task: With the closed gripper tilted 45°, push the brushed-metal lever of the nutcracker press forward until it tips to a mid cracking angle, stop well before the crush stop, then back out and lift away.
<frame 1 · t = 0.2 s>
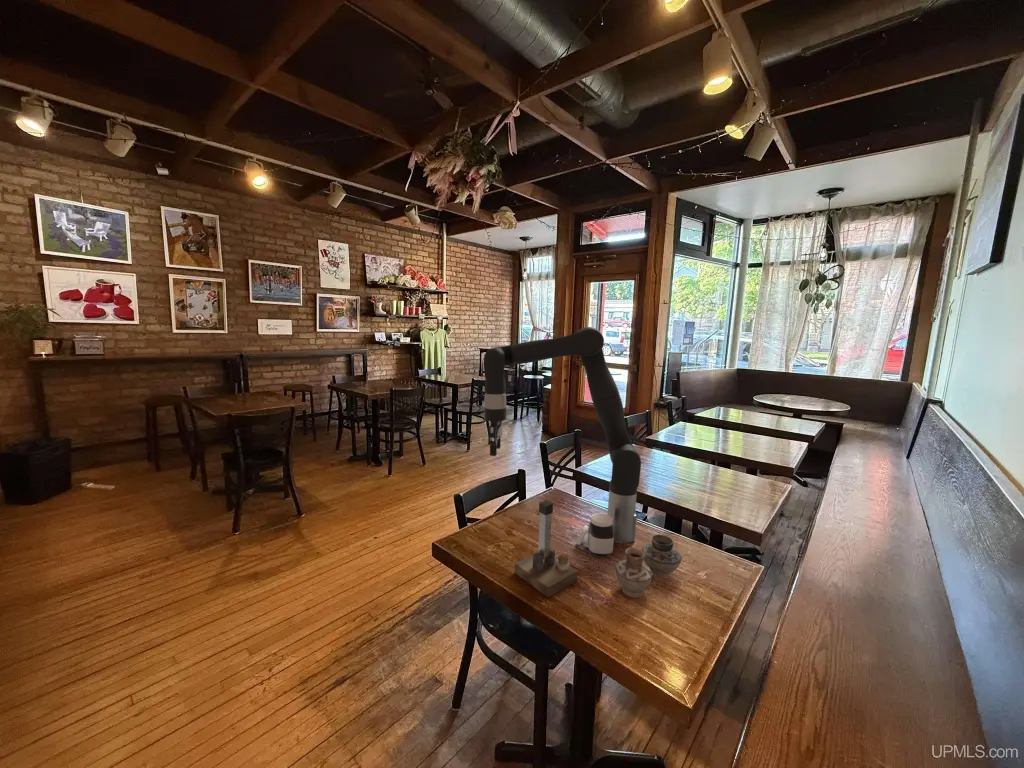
hand: (495, 451, 142), 29 cm above the table, tool pointing down, fingers open, 8 cm apart
spread jar: (593, 549, 136), on the table
pottery: (647, 581, 120), on the table
press base: (543, 574, 121), on the table
lever: (544, 531, 119), point 14 cm above the table, hinge at 0.0°
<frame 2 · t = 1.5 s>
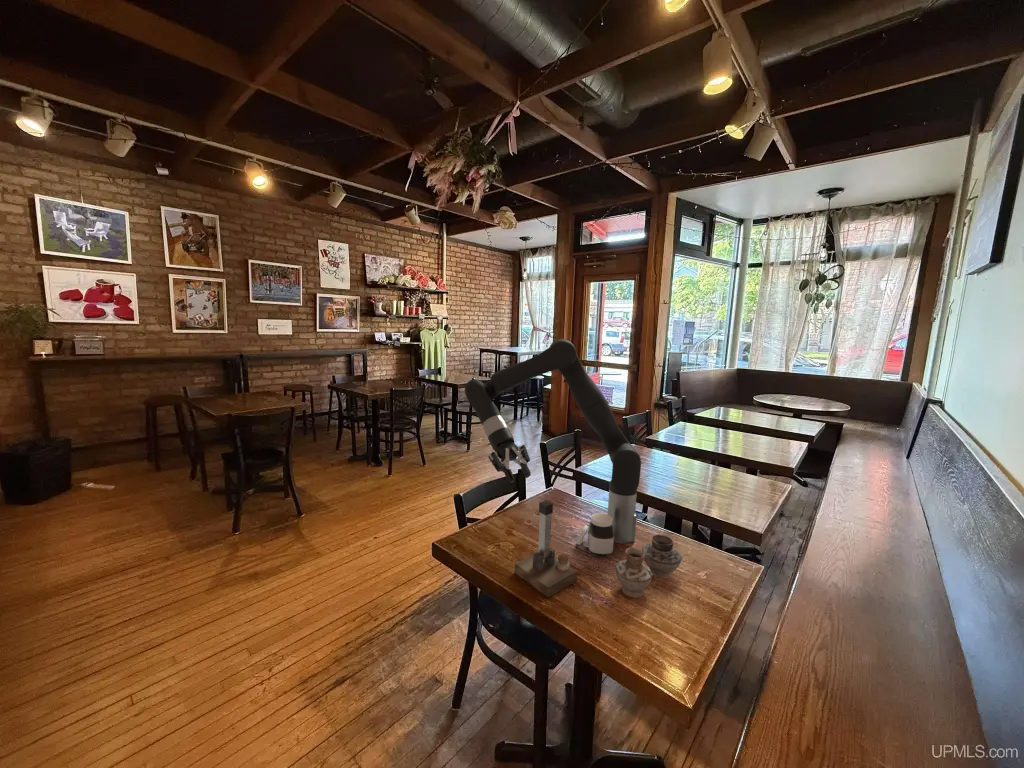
hand: (520, 478, 125), 26 cm above the table, tool tilted 45°, fingers open, 5 cm apart
nothing on the table moved.
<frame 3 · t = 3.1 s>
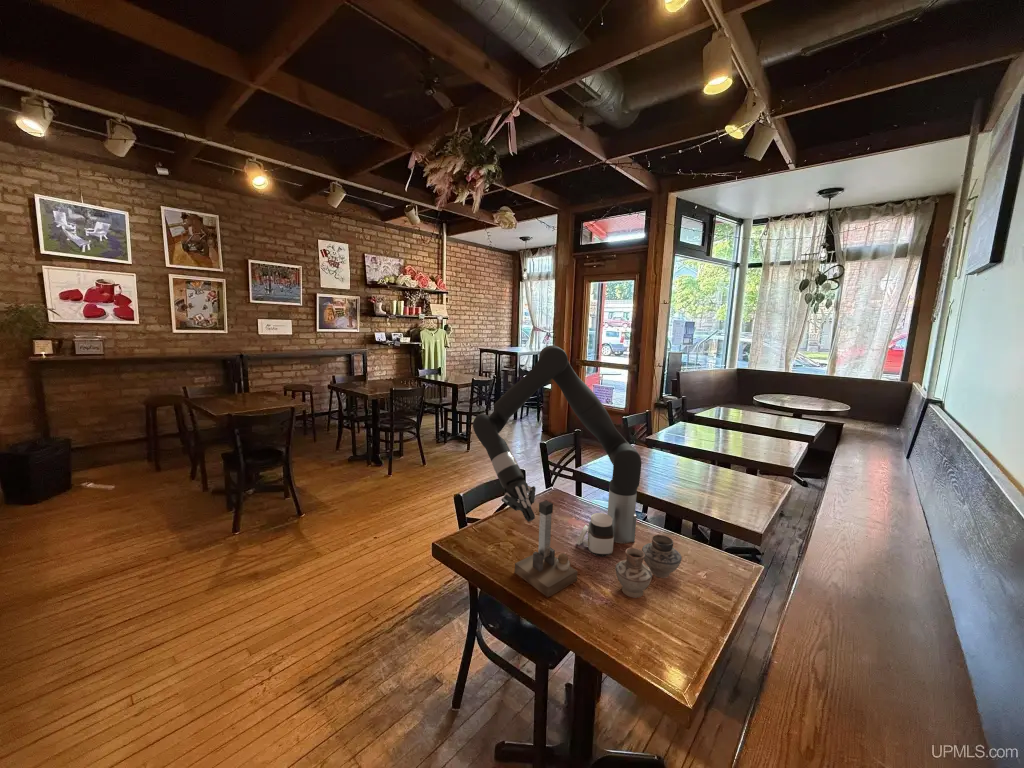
hand: (531, 520, 123), 15 cm above the table, tool tilted 45°, fingers closed
nothing on the table moved.
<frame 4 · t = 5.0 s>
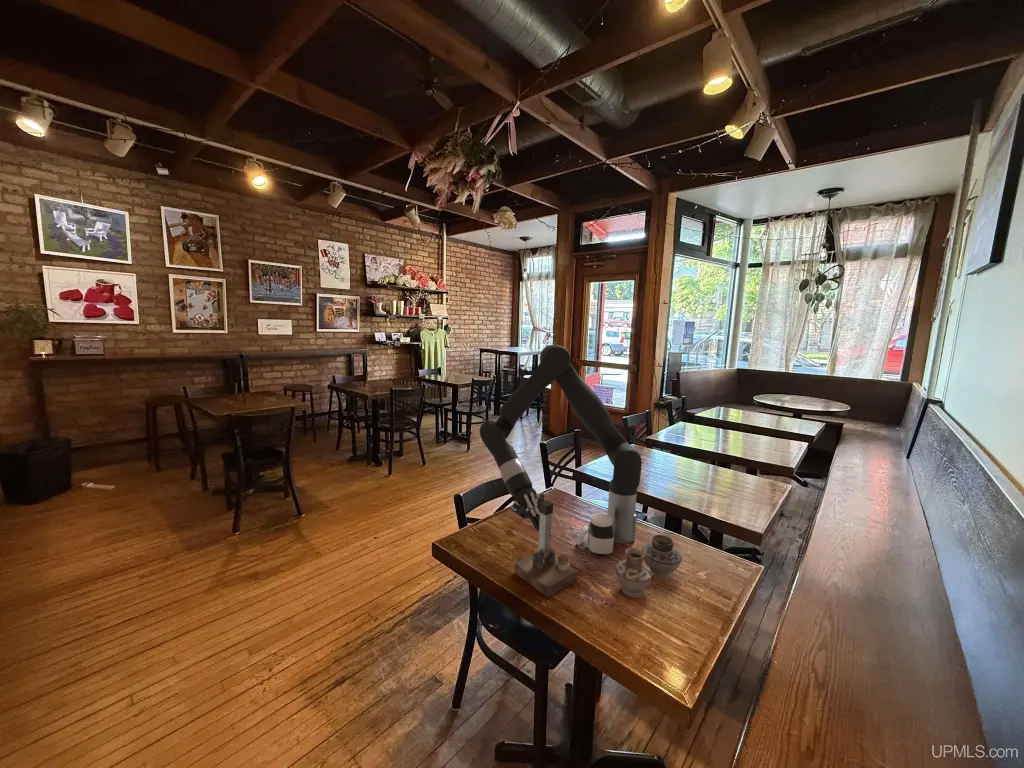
hand: (540, 529, 120), 14 cm above the table, tool tilted 45°, fingers closed
lever: (545, 531, 119), point 14 cm above the table, hinge at 0.2°, touching gripper
everything else where it was.
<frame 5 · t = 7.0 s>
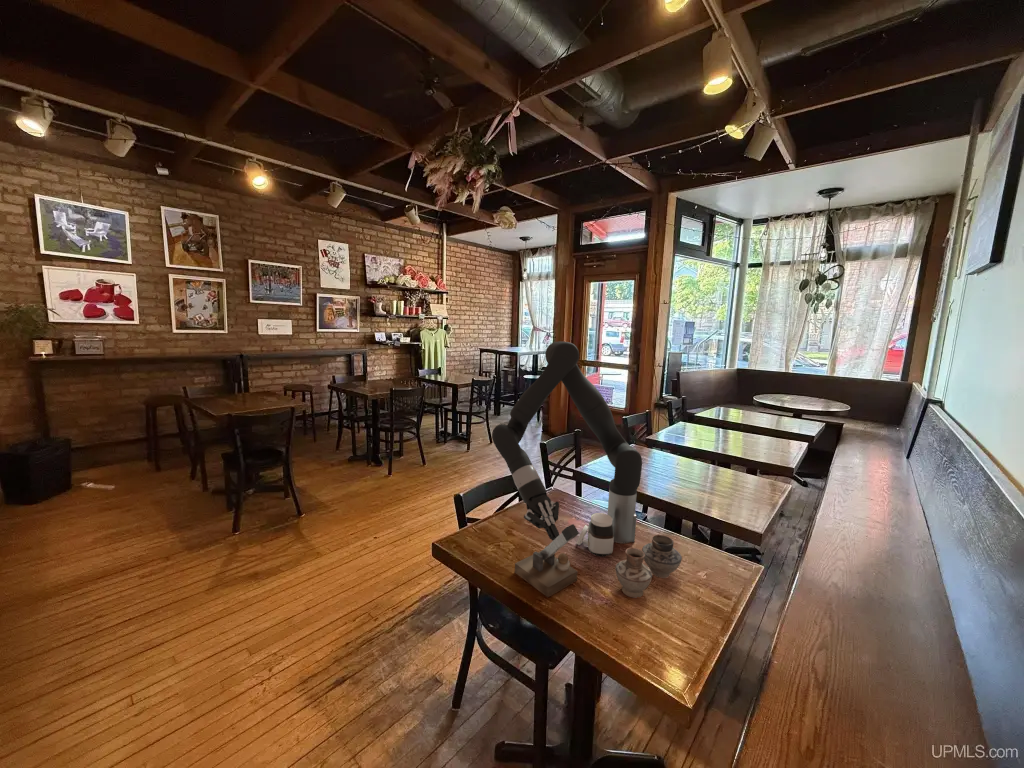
hand: (555, 538, 115), 14 cm above the table, tool tilted 45°, fingers closed
lever: (557, 544, 115), point 12 cm above the table, hinge at 39.2°, touching gripper
everything else where it was.
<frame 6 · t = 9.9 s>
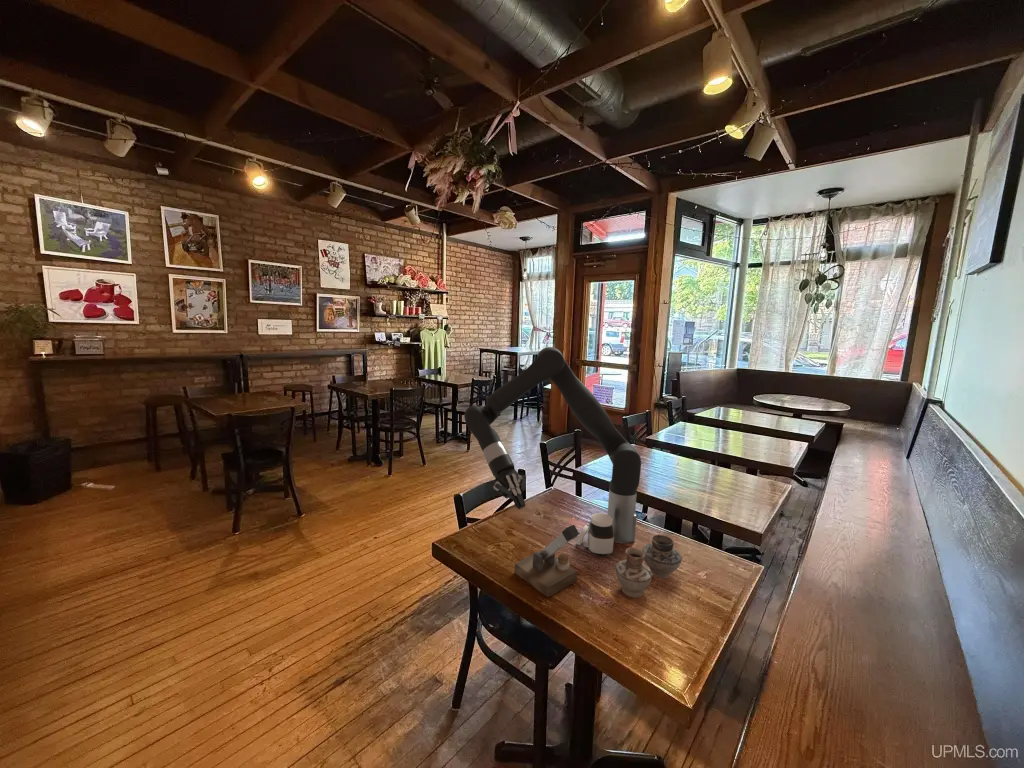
hand: (522, 507, 126), 17 cm above the table, tool tilted 45°, fingers closed
lever: (557, 544, 115), point 12 cm above the table, hinge at 39.7°
everything else where it was.
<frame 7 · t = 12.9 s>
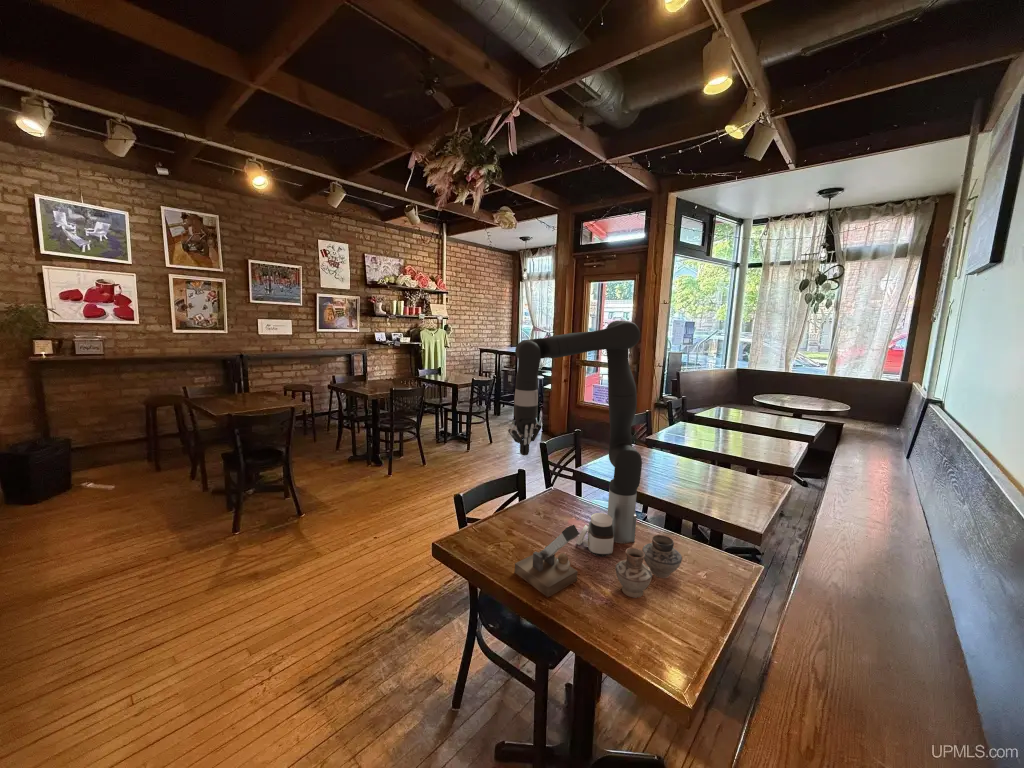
hand: (524, 454, 134), 31 cm above the table, tool pointing down, fingers closed
nothing on the table moved.
at the end: lever at +40° (first picture: +0°); spread jar moved 0.3 cm from its start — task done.
